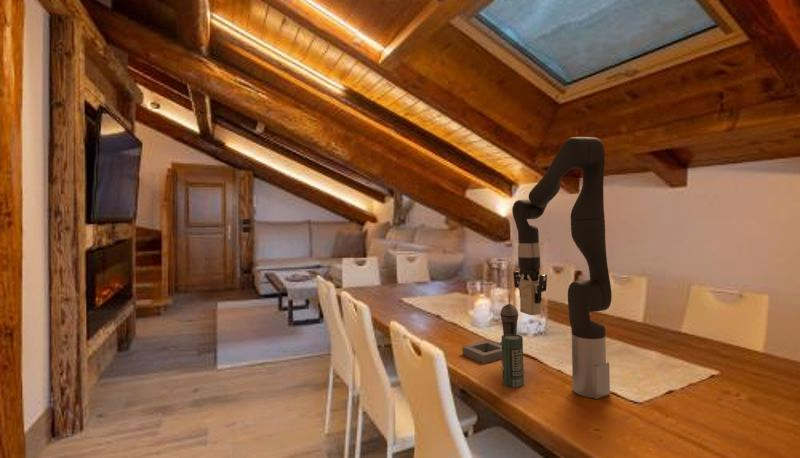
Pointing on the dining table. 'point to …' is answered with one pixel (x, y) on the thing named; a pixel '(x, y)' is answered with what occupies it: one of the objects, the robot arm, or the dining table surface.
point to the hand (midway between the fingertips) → (530, 301)
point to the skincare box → (528, 298)
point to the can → (512, 360)
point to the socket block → (477, 352)
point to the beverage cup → (509, 318)
